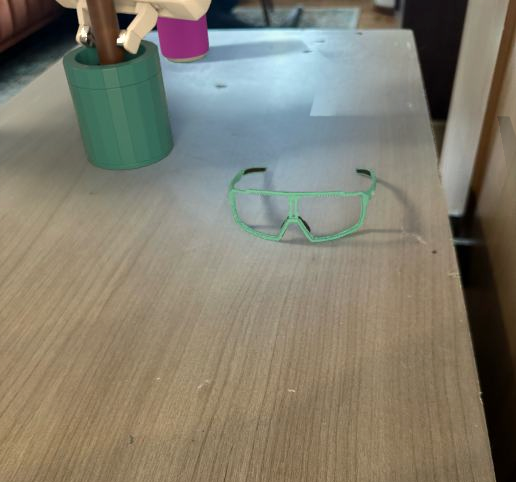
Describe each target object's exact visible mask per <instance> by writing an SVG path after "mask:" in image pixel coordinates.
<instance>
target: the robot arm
mask: <svg viewBox="0 0 516 482" xmlns="http://www.w3.org/2000/svg"><path fill="white" fill-rule="evenodd" d="M55 1H56V2H57V3H58V4H60V6H62V7H63V8H66V9H76V13H77V19H78V24H79V25H78V29H77V33H76V36H75V41H76V42H77V43H78V44H79V45H80V47H81V46H83V47H86V48H96V44H95V39H94V35H93V30H92V26H91V21H90V17H89V12H88V8H87V3H86V0H55ZM114 3H115V8H116V13H117V14H127V15H136V16H135V17H134V18H133V20H132V21H131V22H130V23H129V25H128V26H127V28H126V29H124V28H123V29H122V28H120V32H119V38H118V39H117V42H116V44H117V47H118V48H119V49H121V50H122V52H125V53H131V54H136V53H137V51H138V48H139V45H140V41H141V39H142V40H144V38H146V36H147V35H148V34H149V33H150V32H151V31H152V30H153V29H154V28H155V27H156V26H157V24H156V22H157V18H158V17H165V18H175V19H185V20H195V21H196V20H198V19H200V18H201V17H202V16H203V15H204V14H205V13H206V14H207V12H208V10H209V8H210V5H211V3H212V0H114Z"/></svg>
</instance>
